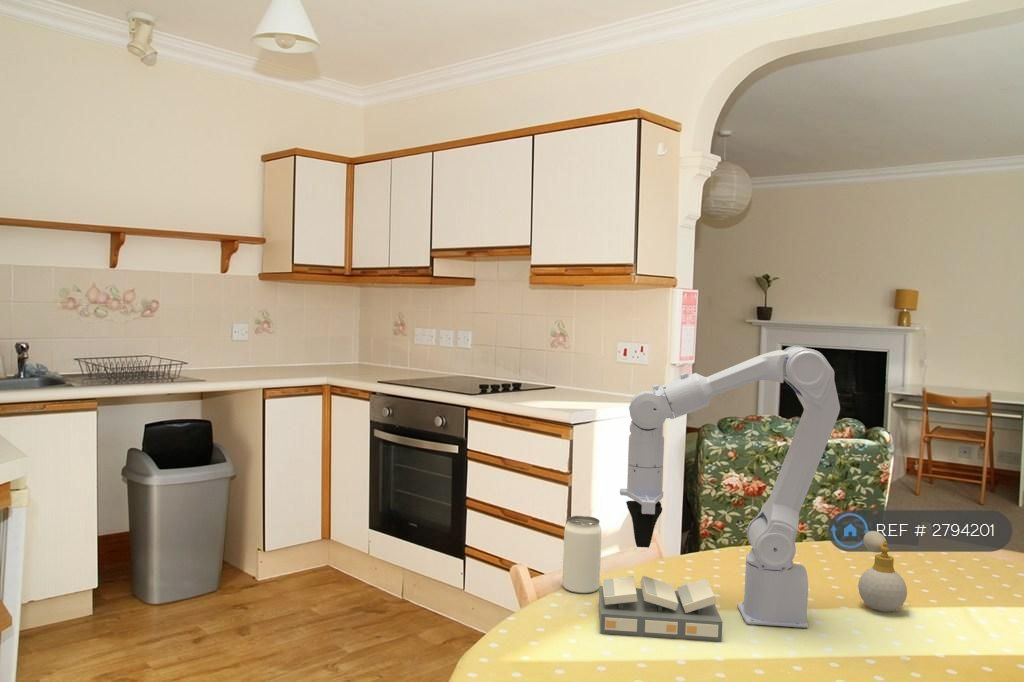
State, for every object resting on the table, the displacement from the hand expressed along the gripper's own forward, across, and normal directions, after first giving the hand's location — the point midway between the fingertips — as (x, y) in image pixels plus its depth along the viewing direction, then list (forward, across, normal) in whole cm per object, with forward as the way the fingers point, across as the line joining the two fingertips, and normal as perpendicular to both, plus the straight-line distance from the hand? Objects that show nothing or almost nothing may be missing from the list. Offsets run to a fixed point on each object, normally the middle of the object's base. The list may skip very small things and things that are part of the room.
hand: (642, 546), depth 134 cm
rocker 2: (+6, +6, +8) cm, 12 cm away
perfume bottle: (+10, -6, +40) cm, 42 cm away
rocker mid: (+6, +6, +2) cm, 9 cm away
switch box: (+10, +6, +2) cm, 12 cm away
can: (+10, -7, -10) cm, 16 cm away
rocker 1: (+6, +6, -4) cm, 9 cm away
